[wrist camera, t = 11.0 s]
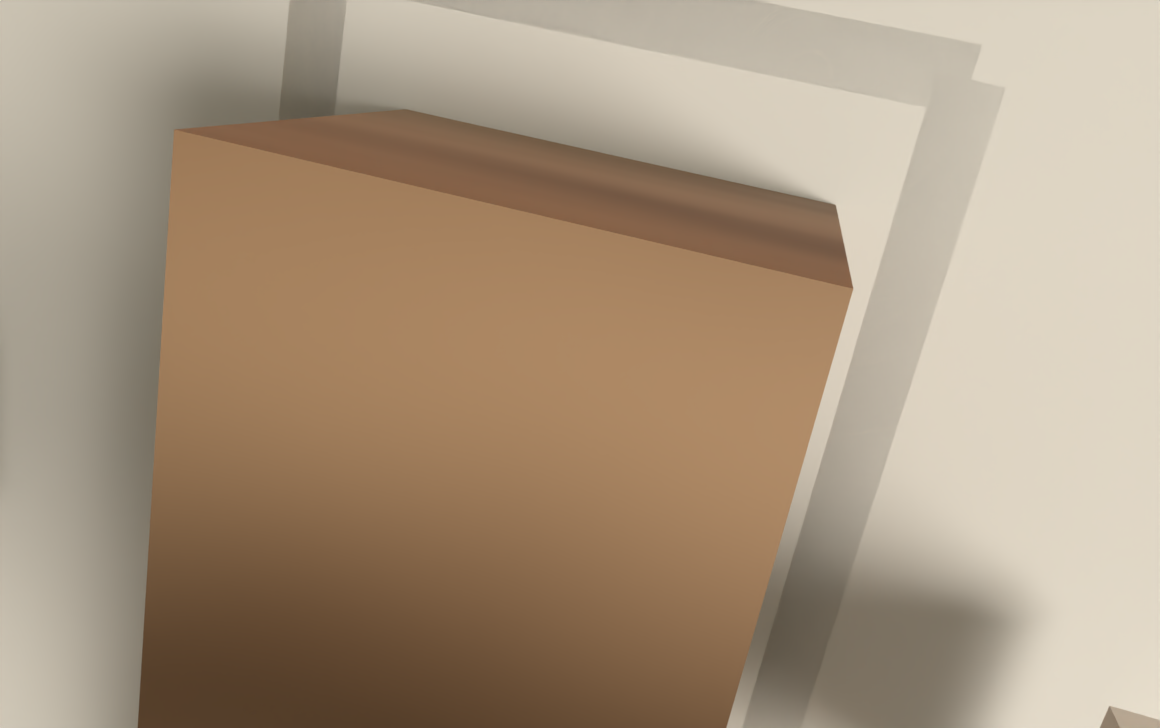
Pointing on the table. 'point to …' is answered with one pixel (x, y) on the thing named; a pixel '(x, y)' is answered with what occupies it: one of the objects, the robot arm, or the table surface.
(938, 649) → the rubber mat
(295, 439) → the walnut block
